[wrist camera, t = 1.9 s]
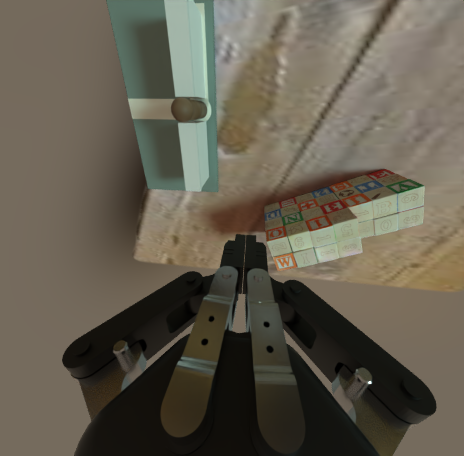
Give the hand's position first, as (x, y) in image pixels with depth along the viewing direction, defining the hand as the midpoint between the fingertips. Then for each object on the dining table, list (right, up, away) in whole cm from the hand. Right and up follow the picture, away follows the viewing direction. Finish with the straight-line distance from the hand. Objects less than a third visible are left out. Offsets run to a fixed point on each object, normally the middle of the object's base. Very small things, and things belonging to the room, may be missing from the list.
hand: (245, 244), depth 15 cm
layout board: (-11, +20, +17) cm, 28 cm away
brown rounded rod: (-6, +20, +16) cm, 27 cm away
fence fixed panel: (-6, +25, +13) cm, 29 cm away
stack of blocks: (+16, +6, +23) cm, 29 cm away
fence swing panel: (-6, +15, +19) cm, 25 cm away
